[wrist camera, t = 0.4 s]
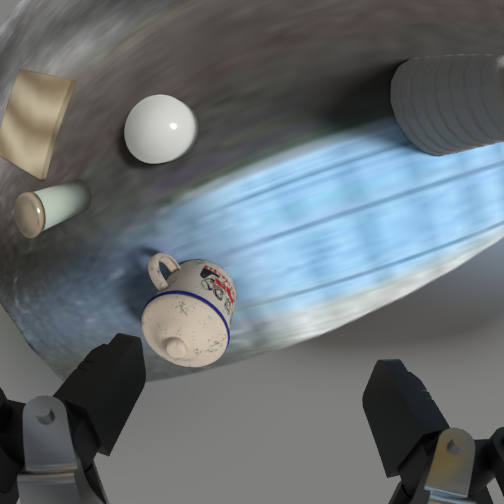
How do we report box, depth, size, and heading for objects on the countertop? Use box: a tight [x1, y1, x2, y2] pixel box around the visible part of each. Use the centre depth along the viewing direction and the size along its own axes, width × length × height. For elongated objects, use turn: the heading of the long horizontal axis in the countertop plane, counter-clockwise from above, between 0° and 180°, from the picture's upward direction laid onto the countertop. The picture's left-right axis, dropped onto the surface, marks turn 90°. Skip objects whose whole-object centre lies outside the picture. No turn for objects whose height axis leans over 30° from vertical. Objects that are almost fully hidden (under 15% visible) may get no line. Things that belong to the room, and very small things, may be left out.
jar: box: [14, 180, 91, 238], centre depth 26 cm, size 5×5×10 cm
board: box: [0, 70, 77, 180], centre depth 26 cm, size 14×14×1 cm
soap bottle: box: [390, 54, 504, 156], centre depth 14 cm, size 12×12×20 cm
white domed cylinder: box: [124, 95, 199, 164], centre depth 26 cm, size 7×7×4 cm
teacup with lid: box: [141, 253, 236, 367], centre depth 28 cm, size 12×9×12 cm
